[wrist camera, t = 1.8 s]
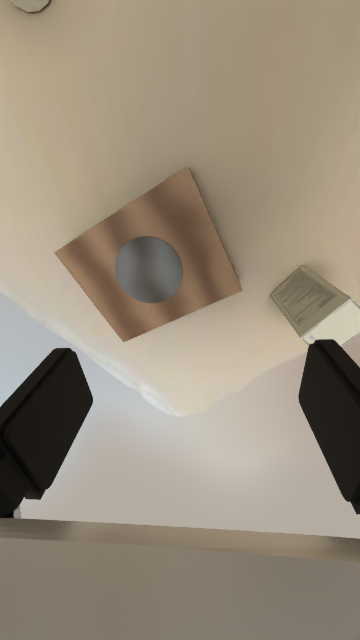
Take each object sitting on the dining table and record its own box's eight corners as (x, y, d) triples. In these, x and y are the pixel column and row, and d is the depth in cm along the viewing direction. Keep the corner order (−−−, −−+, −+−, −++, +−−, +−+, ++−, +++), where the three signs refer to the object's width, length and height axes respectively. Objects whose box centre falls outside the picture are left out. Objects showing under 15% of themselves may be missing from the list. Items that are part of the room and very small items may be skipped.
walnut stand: (189, 168, 28) (187, 165, 25) (238, 279, 35) (242, 291, 31) (69, 246, 34) (52, 253, 31) (130, 329, 41) (122, 343, 37)
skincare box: (287, 310, 37) (322, 361, 26) (268, 294, 36) (297, 340, 25) (323, 281, 34) (378, 323, 23) (304, 262, 33) (352, 298, 22)
